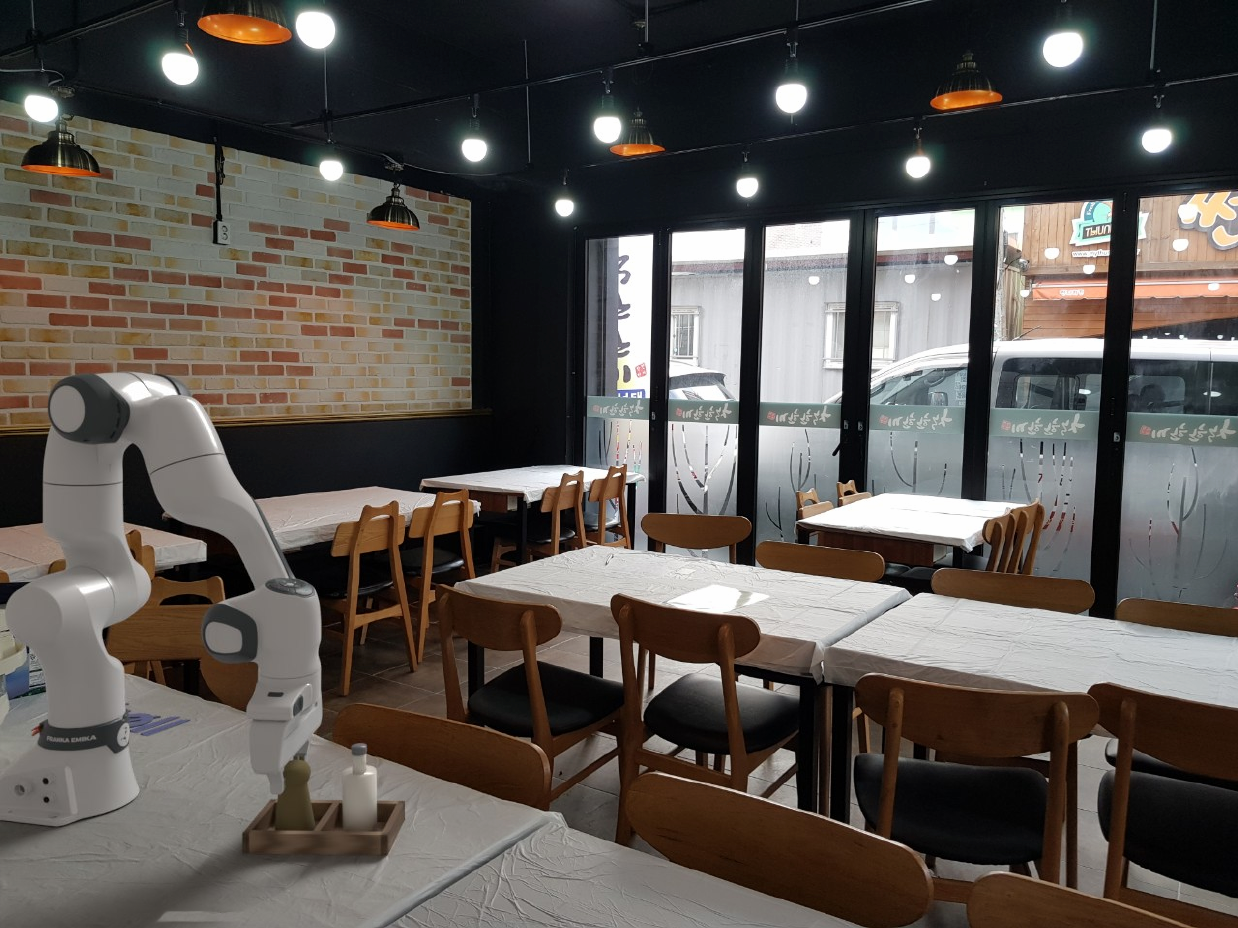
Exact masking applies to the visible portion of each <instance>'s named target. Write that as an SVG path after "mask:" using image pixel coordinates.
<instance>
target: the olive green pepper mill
mask: <svg viewBox="0 0 1238 928" xmlns="http://www.w3.org/2000/svg"><path fill="white" fill-rule="evenodd" d="M311 774H312V770H311V766H310V764H309V762H306V761H303V760H293V759H291V760H290V761H289V762H288V763H287V764H286V765H285V766H284V771H283V777H284V779H286V788H285V790H284V791H283V792H282V794H280V795H279V794H277V798H276V799H277V810H276V821H275V830H276V831H314V830H315V828H316V827H315V821H314V816H313V810H312V805H311V800H312V799H311V795H310V794H311V793H310V789H309V784H308V782H309V781H310V779H311Z"/></svg>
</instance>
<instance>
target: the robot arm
mask: <svg viewBox="0 0 1238 928" xmlns="http://www.w3.org/2000/svg"><path fill="white" fill-rule="evenodd" d="M47 413H48V418H49V421H50V424H51V426H50V428H49V432H48V435H47V439H46V440H47V441H46V446H45V449H44V451H45V452H44V458H43V467H42V468H43V471H42V474H43V475H42V526H43V530H44V531H45V533H46V535H47V536H48V537H49V538H51V539H52V540H54V541H56V542H58V544H59V545H60V547H61V550H62V553H63V556H64V560H65V569H64V570H60V571H56V572H53V573H48V574H45V575H42V576H39V577H37V578H36V579H33V580H32V581H31V582H29V583H27V584H25V585H24V586H22V587H21V588H19V589H16V591H14V592H13V593H12V594H11V595H10V597H9V599H8V601H7V602H6V606H5V611H4V617H5V622H6V626H7V628H8V630H9V632H10V633H11V634H12V636H13V638H15V639H16V640H17V641H18V642H19V643H21V644H23V645H25V646H27V647H28V648H30V649H31V651H32V652H33V654H34V655H35V656H36V659H37V660H38V662H39V665H40V667H41V669H42V673H43V677H44V683H45V691H46V693H45V695H46V705H47V706H46V707H47V718H46V719H44V720H42V721H41V722H39V723H38V725H37V726H35V727H34V728H32V729H30V731H31V732H32V733H31V737H34V736H36V735H38V734H39V737H38V739H37V743H35V744H34V745H32V746H31V747H30V748H29V749H27V750H26V751H25V752H24V753H22V754H20V756H18V757H17V758H16V759H15V760H13V761H12V762H11V763H10V764H8V765H7V767H6V768H4V770H3V772H1V775H0V821H8V822H15V823H24V824H32V825H41V826H50V827H51V826H52V827H60V826H61V827H62V826H66V825H68V824H71V823H74V822H76V821H79V820H82V819H85V818H90V817H93V816H98V815H102V814H106V813H108V812H112V811H114V810H116V809H119V808H121V807H124V806H126V805H127V804H129V803H131V801H133V800H134V799H135V798H137V796H138V795H139V793H140V787H139V785H138V781H137V779H136V775H135V773H134V769H133V765H132V759H131V755H130V749H129V748H130V747H129V746H130V745H129V744H130V733H131V732H130V730H131V728H129V724H130V723H129V714H130V712H128V710H129V709H128V710H127V708H126V706H125V703H126V683H125V680H126V679H125V667H124V665H123V663H122V662H121V661H120V660H119V659H118V658H116V657H114V656H112V655H110V654H109V653H108V651H107V648H106V646H105V643H104V639H103V630H104V629H106V628H108V627H110V626H112V625H116V624H118V623H120V622H123V621H125V620H127V619H128V618H129V617H131V616H133V615H134V614H135V613H136V612H138V611H140V610H141V608H142V607H144V605H145V604H146V603H147V602H148V600H149V599H150V596H151V592H152V582H151V579H150V576H149V574H148V571H147V570H146V569H145V568H144V566H143V565H141V564H140V563H139V562H138V561H136V559H134V557H133V554H132V552H131V549H130V547H129V543H128V541H127V537H126V532H125V528H124V527H125V526H124V505H123V504H124V500H123V499H124V498H123V497H124V496H123V490H124V489H123V487H124V486H123V484H124V483H123V480H124V479H123V477H124V476H123V475H124V474H123V460H124V459H123V458H124V452H125V451H126V449H128V447H129V446H130V445H132V444H134V445H136V447H138V448H139V450H140V451H141V452H140V453H141V454H142V456H143V459H144V463H145V467H146V470H147V473H148V476H149V480H150V483H151V486H152V489H153V492H154V495H155V497H156V499H157V501H158V503H159V504H160V505H161V508H162V509H163V510H164V512H165V513H167V514H168V516H170V517H172V518H174V519H175V520H177V521H179V522H182V523H184V524H187V525H191V526H194V527H200V528H202V529H207V530H209V531H213V532H214V533H218V534H220V535H221V536H224V537H225V538H226V539H227V540H229V541H230V542H231V543H232V545H233V546H234V547H235V549H236V550H237V552H238V554H239V557H240V559H241V561H242V563H243V564H244V568H245V569H246V571H247V573H248V576H249V577H250V580H251V582H252V583H253V586H254V590H252V591H250V592H248V593H245V594H241V595H238V596H234V597H231V598H228V599H224V600H222V601H220V602H217V603H214V604H213V605H211V606H210V607H209V608H208V609H207V610H206V612H205V614H204V615H203V618H202V622H201V628H200V634H201V641H202V644H203V646H204V648H205V650H206V652H207V653H208V654H209V655H210V656H211V657H212V658H213V659H215V660H217V661H218V662H219V663H223V664H242V663H243V664H245V663H249V662H253V663H255V664H257V667H258V669H257V682H256V684H255V685H256V686H255V688H254V689H255V690H254V692H253V695H251V698H250V700H249V701H248V704H247V705H246V714H245V715H246V719H247V720H251V722H250V725H249V726H250V727H249V756H250V766H251V769H252V771H253V773H254V774H255V775H263V776H264V775H265V776H266V777H267V779H268V782H269V793H270V794H272V795H278V794H279V795H280V794H282V792H283V791H284V790H285V788H286V779H284V777H283V771H284V766H285V765H286V764H287V763H288V762H289V761H291V760H303V761H306V762H307V763H309V762H308V761H309V751H310V750H309V749H310V746H311V742H312V736H313V735H314V733H315V732H316V731H317V730H318V729H319V727H320V726H321V725H322V720H323V698H322V665H321V664H322V663H321V659H320V656H319V648H320V644H321V641H322V614H321V613H322V612H321V604H320V600H319V596H318V593H317V591H316V589H315V587H314V586H313V585H312V584H310V583H308V582H307V581H305V580H302V579H299V578H296V577H295V575H294V573H293V572H292V570H291V567H290V566H289V563H288V562H287V559H286V557H285V555H284V553H283V551H282V548H281V546H280V545H279V543H278V540H277V538H276V536H275V534H274V532H273V530H272V528H271V525H270V523H269V522H268V520H267V518H266V516H265V514H264V512H263V510H262V509H261V507H260V506H259V504H258V503H257V501H256V500H255V498H253V496H251V495H250V494H249V493H248V492H247V491H246V490H245V489H244V487H243V486H242V485H241V484H240V482H239V480H238V479H237V477H236V475H235V474H234V471H233V469H232V468H231V465H230V464H229V460H228V457H227V455H226V453H225V449H224V446H223V443H222V442H221V439H220V437H219V434H218V432H217V430H216V428H215V426H214V423H213V422H212V420H211V418H210V416H209V414H208V413H207V411H206V410H205V408H204V406H203V405H202V404H201V402H199V400H197V399H196V398H194V397H193V396H192V394H191V391H190V390H189V388H188V387H187V386H186V384H184V383H183V382H182V381H181V380H179V379H176V378H175V377H172V376H169V375H166V374H162V373H152V374H151V373H145V372H136V371H125V370H123V371H119V372H103V373H91V372H84V373H76V374H72V375H70V376H69V375H68V376H67V377H63V378H62V379H60V380H58V381H57V383H55V385H54V386H53V387H52V389H51V391H50V392H49V395H48V400H47Z"/></svg>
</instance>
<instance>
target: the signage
mask: <svg viewBox="0 0 1238 928" xmlns="http://www.w3.org/2000/svg"><path fill="white" fill-rule="evenodd" d="M129 704H130V703H129V702H125V707H126V706H129ZM126 709H127V708H126ZM127 710H128V713H129V729H130V733H131V732H132V733H134V734H138V733H140V735H141V736H145V737H149V736H153V735H155V734H158V733H161V732H163V731H166V730H169V729H172V728H174V727H176V726H180V725H182V724H186V723H188V722H190V721H191V719H190V718H189V719H187V718H185V719H182V718H180V716H176V715H174V716H169V717H165V718H162V717H161V715H156V714H155V715H153V714H150V713H145V712H144V713H141V712H138V713H137V712H136V713H130V712H132V710H131V709H129V708H128V709H127ZM155 719H159V720H157V721H153V720H155ZM160 719H161V720H160ZM177 719H178V720H177ZM151 722H152V723H151ZM166 723H167V724H166Z"/></svg>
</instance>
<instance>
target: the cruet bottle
mask: <svg viewBox="0 0 1238 928" xmlns="http://www.w3.org/2000/svg"><path fill="white" fill-rule="evenodd" d="M367 746H368V745H367V744H366V743H365V742H364V743H363V742H362V743H361V742H360V743H359V742H358V743H354V744H352V745H351V746H350V747H351V755H352V756H351V757H352V758H351V763H352V766H349V767H347V768H346V769H344V770H343V771H342V773H341V788H342V789H341V791H342V793H341V797H342V798H341V800H342V807H343V831H364V832H377V801H378V782H377V781H378V779H377V778H378V773H377V771H378V769H377V768H376V767H375V766H373V765H368V764H367V752H368V747H367Z"/></svg>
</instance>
